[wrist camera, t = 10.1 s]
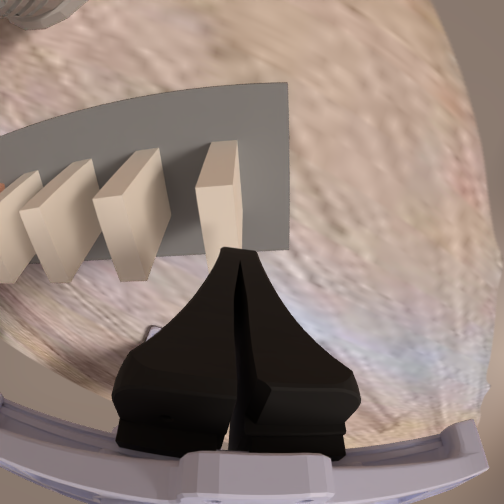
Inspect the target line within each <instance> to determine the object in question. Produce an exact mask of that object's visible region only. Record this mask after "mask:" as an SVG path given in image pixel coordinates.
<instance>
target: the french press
mask: <svg viewBox="0 0 504 504" xmlns="http://www.w3.org/2000/svg"><path fill="white" fill-rule="evenodd" d="M87 1H88V0H0V16H3V17H0V18H8V20H9V22H10V23H12V24H14V25H16V26H18V27H20V28H22V29H24V30H36V29H46V28H48V27H50V26H52V25H54V24H56V23H58V22H61V21H63V20H65V19H67V18H68V17H70V16H71V15H72V14H73V13H74V12H75V11H76V10H77V9H79V8H80V7H81V6H82V5H83V4H84V3H86V2H87ZM4 13H5V14H4Z"/></svg>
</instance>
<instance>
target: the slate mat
mask: <svg viewBox="0 0 504 504" xmlns="http://www.w3.org/2000/svg"><path fill="white" fill-rule="evenodd" d="M230 140H237V144H238V157H239V170H240V183H241V195H242V208H243V219H242V249H247V250H255V251H275V250H289V214H290V176H289V108H288V83H287V82H284V83H253V84H237V85H224V86H213V87H203V88H194V89H186V90H179V91H172V92H165V93H159V94H153V95H147V96H142V97H136V98H131V99H126V100H121V101H117V102H112V103H108V104H103V105H99V106H95V107H91V108H87V109H83V110H79V111H76V112H72V113H68V114H65V115H61V116H58V117H55V118H51V119H48V120H45V121H42V122H39V123H36V124H33V125H30V126H27V127H24V128H21V129H19V130H16V131H13V132H11V133H8V134H5V135H3V136H0V183H3V184H4V185H5V188H7V187H8V186H9V185H10V184H12V183H13V182H14V181H15V180H16V179H18V178H19V177H20V176H22V175H23V174H25V173H28V172H32V171H36V170H38V171H39V175H40V178H41V181H42V184H43V187H45V186H46V185H47V184H48V183H49V182H50V181H51V180H52V179H54V178H55V177H56V176H57V175H58V174H59V173H61V172H62V171H63V170H64V169H65V168H67V167H68V166H69V165H70V164H71V163H73V162H76V161H81V160H86V159H91V158H92V162H93V166H94V170H95V174H96V178H97V182H98V186H99V189H101V188H102V187H103V186H104V185H105V184H106V183H107V182H108V180H109V179H110V178H111V177H112V176H113V175H114V174H115V173H116V172H117V170H118V169H119V168H120V167H121V166H122V165H123V164H124V163H125V162H126V161H127V160H128V159H129V158H130V157H131V156H132V155H133V153H134V152H135V151H139V150H146V149H153V148H159V151H160V157H161V162H162V168H163V174H164V179H165V185H166V190H167V195H168V200H169V205H170V210H171V218H170V220H169V223H168V225H167V228H166V231H165V233H164V236H163V238H162V241H161V244H160V246H159V249H158V252H157V254H156V257H163V256H181V255H200V254H206V253H205V247H204V241H203V235H202V229H201V223H200V216H199V210H198V203H197V197H196V190H195V187H196V184H197V181H198V178H199V175H200V172H201V170H202V167H203V164H204V161H205V158H206V155H207V153H208V150H209V147H210V145H211V142H217V141H230ZM107 259H112V258H111V255H110V253H109V250H108V247H107V244H106V241H105V238H104V235H103V232H101V233H100V235H99V236H98V238H97V240H96V241H95V243H94V244H93V246H92V248H91V249H90V251H89V252H88V254H87V256H86V257H85V259H84V261H88V260H107ZM32 263H40V260H39V258H38V256H37V254H35V255H34V257H33V258H32V259H31V261H30V262H29V263H28V264H32Z"/></svg>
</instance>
